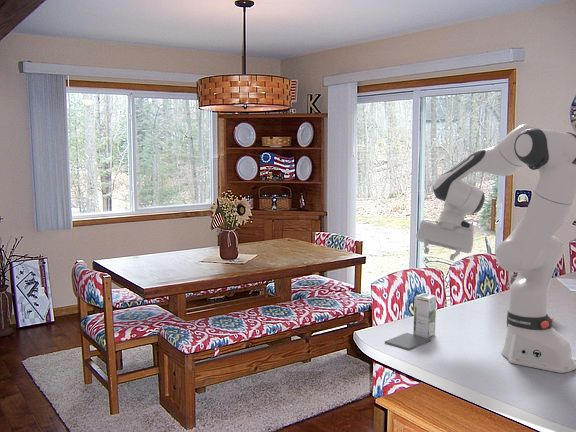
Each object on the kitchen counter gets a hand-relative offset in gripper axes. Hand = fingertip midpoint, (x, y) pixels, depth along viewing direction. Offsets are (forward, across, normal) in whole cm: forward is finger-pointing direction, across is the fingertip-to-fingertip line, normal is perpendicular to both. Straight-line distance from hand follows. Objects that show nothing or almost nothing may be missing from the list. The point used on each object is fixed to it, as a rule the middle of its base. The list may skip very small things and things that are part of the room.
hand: (438, 256), depth 208 cm
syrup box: (+27, +2, +10) cm, 29 cm away
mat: (+33, -1, +3) cm, 33 cm away
